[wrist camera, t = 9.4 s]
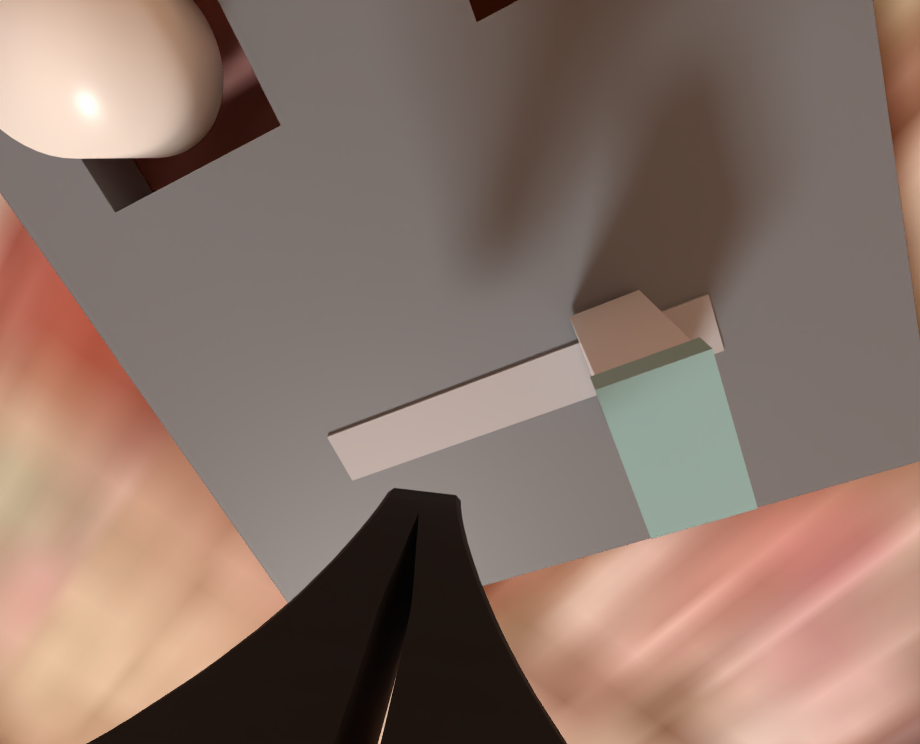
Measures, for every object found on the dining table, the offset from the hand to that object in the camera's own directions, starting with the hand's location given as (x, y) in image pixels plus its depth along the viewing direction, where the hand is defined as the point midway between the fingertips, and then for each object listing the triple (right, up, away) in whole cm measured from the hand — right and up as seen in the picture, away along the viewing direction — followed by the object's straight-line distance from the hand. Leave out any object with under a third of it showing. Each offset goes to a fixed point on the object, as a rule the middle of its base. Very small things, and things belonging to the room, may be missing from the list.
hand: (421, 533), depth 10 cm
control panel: (0, +8, +4) cm, 9 cm away
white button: (-7, +10, +2) cm, 12 cm away
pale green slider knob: (+5, +4, +3) cm, 7 cm away
